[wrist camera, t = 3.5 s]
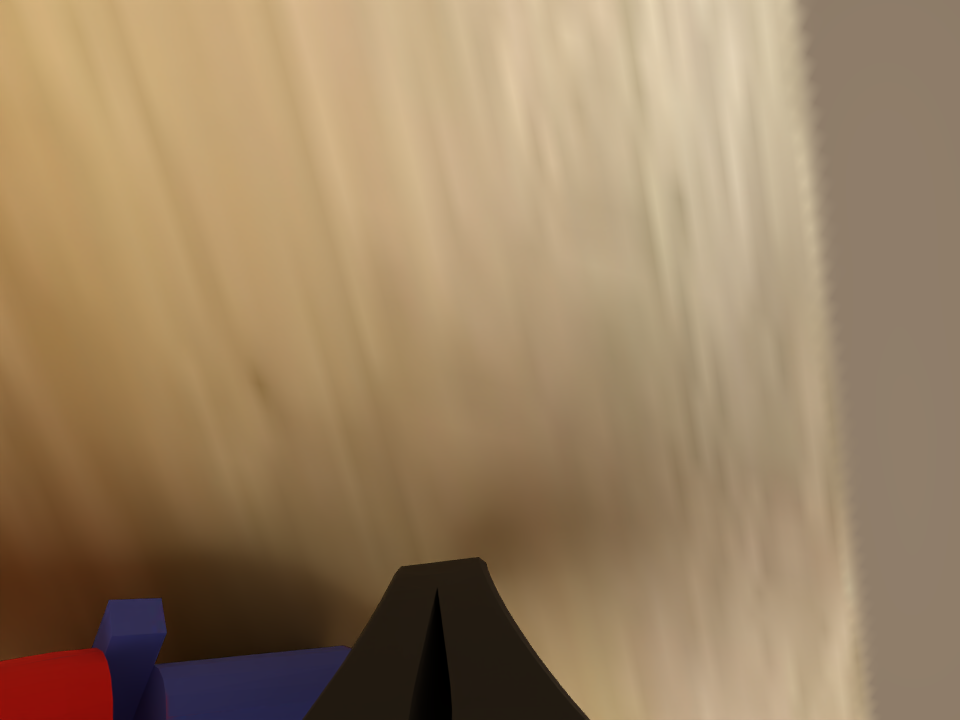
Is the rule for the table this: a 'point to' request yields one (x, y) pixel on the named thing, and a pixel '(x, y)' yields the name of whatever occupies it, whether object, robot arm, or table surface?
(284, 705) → the toy
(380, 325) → the table surface
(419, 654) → the robot arm
